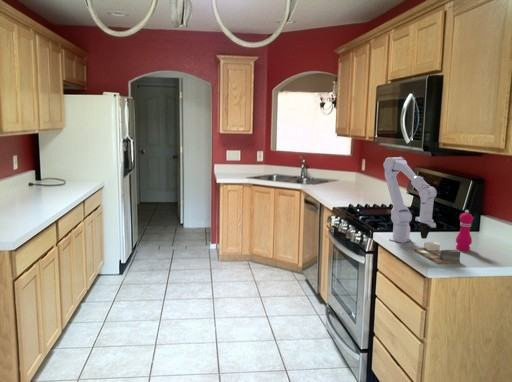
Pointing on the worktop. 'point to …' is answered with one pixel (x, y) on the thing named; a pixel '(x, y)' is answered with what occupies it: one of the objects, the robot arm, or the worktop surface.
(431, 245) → the gauge carriage
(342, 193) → the worktop surface
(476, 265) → the worktop surface
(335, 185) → the worktop surface
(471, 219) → the pepper mill
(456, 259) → the gauge base
